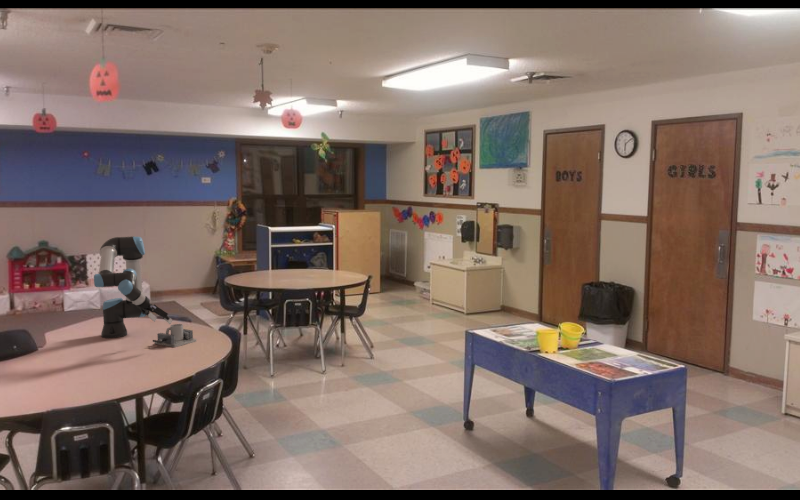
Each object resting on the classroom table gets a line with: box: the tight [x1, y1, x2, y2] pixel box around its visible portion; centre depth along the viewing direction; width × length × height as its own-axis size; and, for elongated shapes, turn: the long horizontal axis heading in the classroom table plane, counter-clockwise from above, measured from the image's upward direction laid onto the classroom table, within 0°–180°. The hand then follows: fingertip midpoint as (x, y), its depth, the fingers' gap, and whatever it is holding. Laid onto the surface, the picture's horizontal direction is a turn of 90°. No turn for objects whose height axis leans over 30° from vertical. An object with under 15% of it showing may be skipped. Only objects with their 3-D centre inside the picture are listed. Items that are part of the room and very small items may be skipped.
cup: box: [165, 323, 184, 341], centre depth 385 cm, size 7×10×9 cm
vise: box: [152, 328, 198, 348], centre depth 383 cm, size 18×22×6 cm
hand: (163, 321), depth 377 cm, fingers open, 13 cm apart
